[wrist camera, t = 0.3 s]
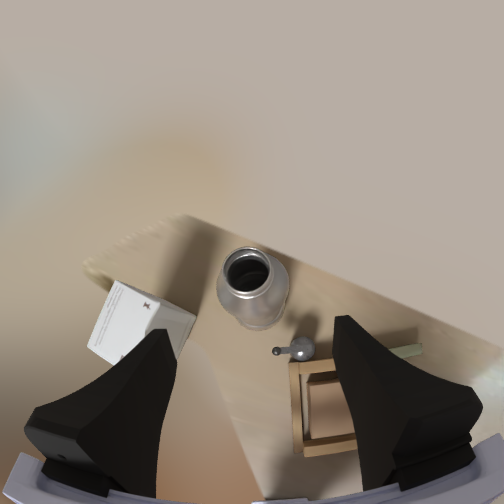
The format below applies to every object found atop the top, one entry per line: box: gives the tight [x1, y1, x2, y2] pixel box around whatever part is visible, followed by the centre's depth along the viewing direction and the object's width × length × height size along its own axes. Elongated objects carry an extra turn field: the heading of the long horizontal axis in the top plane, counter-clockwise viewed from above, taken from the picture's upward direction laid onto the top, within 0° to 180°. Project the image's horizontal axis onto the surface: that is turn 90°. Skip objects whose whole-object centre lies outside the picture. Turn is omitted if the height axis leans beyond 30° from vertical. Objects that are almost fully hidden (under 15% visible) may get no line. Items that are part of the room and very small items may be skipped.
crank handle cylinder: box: [272, 337, 315, 361], centre depth 36 cm, size 3×5×6 cm, turn 94°
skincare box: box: [87, 280, 197, 365], centre depth 33 cm, size 8×6×15 cm
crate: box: [307, 379, 355, 439], centre depth 34 cm, size 7×7×4 cm
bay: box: [289, 343, 422, 457], centre depth 34 cm, size 13×18×3 cm
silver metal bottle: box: [216, 247, 289, 331], centre depth 31 cm, size 6×7×20 cm
